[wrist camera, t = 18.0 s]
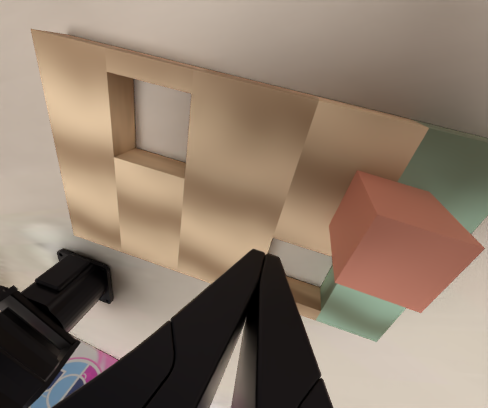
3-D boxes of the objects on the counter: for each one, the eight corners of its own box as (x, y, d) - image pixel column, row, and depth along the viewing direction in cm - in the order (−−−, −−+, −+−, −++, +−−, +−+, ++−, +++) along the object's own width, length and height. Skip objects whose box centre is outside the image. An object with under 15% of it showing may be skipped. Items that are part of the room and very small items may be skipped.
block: (390, 245, 15) (420, 312, 11) (328, 225, 16) (334, 282, 11) (429, 191, 13) (484, 248, 9) (357, 170, 14) (377, 214, 9)
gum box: (167, 384, 39) (106, 516, 27) (157, 400, 43) (100, 521, 31) (35, 315, 39) (-82, 418, 27) (38, 338, 43) (-63, 436, 31)
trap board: (370, 315, 22) (376, 341, 20) (94, 221, 25) (73, 235, 23) (504, 142, 13) (539, 155, 11) (66, 34, 17) (30, 28, 14)
